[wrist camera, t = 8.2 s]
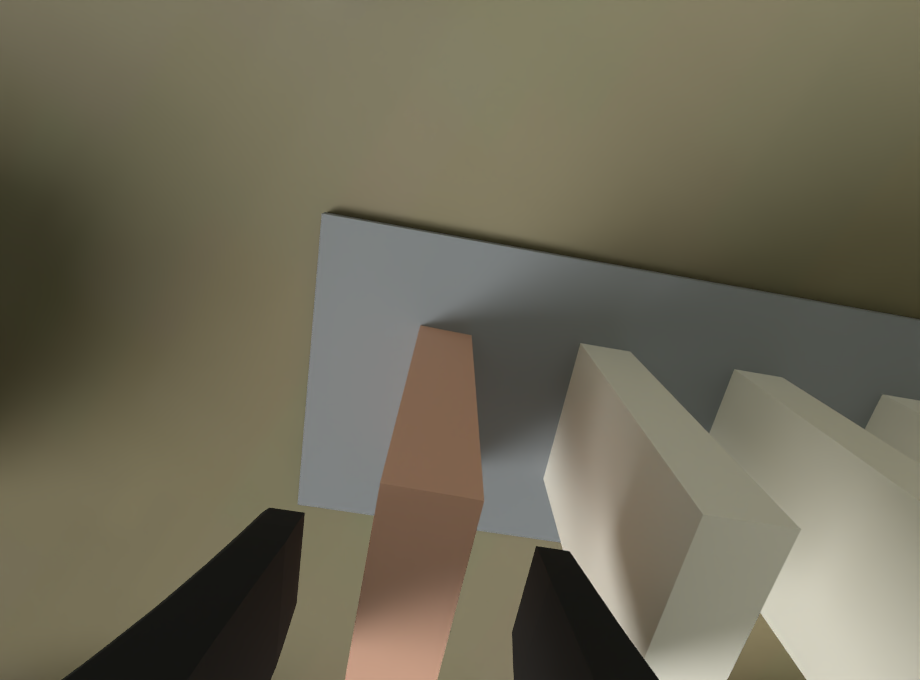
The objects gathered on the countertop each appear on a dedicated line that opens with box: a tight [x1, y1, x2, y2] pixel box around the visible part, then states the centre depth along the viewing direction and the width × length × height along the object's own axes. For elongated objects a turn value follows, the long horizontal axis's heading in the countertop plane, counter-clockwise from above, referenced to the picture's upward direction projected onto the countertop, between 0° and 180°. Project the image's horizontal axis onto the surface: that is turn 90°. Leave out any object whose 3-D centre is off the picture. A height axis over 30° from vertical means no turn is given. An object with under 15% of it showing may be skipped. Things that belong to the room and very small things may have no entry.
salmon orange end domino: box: [345, 325, 484, 680], centre depth 12 cm, size 5×2×8 cm, turn 168°
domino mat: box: [298, 212, 920, 542], centre depth 16 cm, size 10×29×1 cm, turn 80°
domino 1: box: [543, 343, 801, 680], centre depth 12 cm, size 5×2×8 cm, turn 170°
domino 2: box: [709, 369, 920, 680], centre depth 12 cm, size 5×2×8 cm, turn 170°
